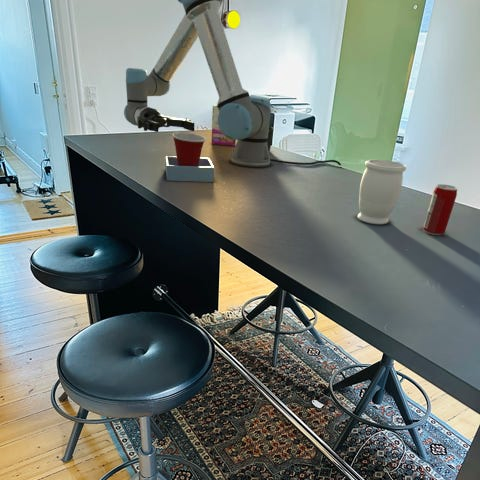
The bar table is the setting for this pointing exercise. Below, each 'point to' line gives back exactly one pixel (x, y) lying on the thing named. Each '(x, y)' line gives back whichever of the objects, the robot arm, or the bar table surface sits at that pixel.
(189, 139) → the plastic cup
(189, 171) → the tray
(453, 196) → the soda can
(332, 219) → the bar table surface
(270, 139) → the pen holder
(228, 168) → the bar table surface
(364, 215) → the jar
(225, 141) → the candy bar box
